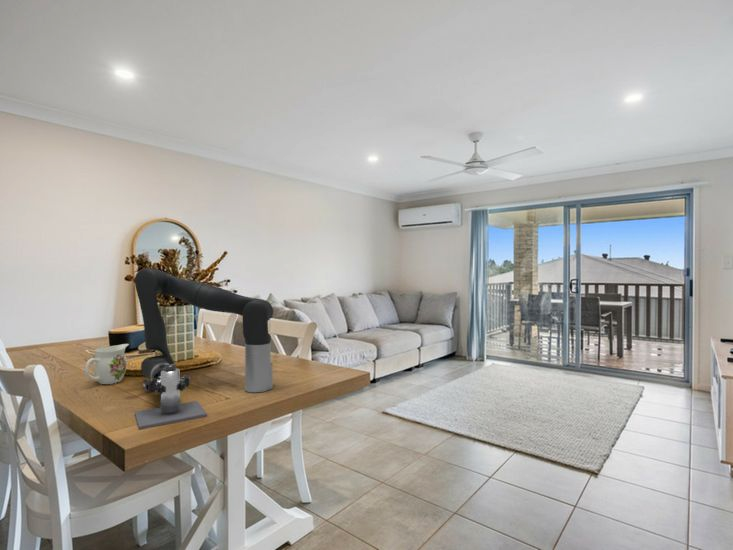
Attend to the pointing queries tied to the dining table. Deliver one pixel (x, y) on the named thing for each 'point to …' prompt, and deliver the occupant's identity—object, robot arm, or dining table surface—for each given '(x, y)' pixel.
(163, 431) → the dining table surface
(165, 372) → the pepper mill
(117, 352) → the pitcher
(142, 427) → the placemat
